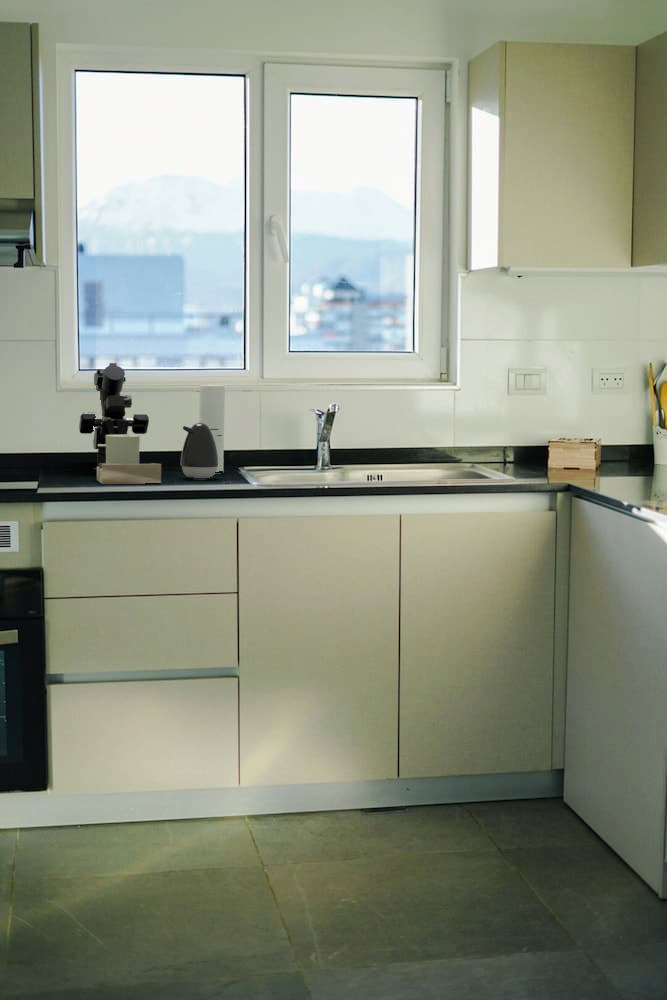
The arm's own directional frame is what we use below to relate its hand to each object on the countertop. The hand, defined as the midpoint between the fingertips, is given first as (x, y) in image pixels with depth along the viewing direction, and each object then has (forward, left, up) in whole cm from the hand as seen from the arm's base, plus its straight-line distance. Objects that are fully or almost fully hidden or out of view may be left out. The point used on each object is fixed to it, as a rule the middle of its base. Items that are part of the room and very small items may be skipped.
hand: (117, 446), depth 337 cm
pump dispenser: (-6, +23, -8) cm, 25 cm away
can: (+7, +7, -8) cm, 12 cm away
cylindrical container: (-25, +15, -8) cm, 30 cm away
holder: (+14, +14, -8) cm, 21 cm away
